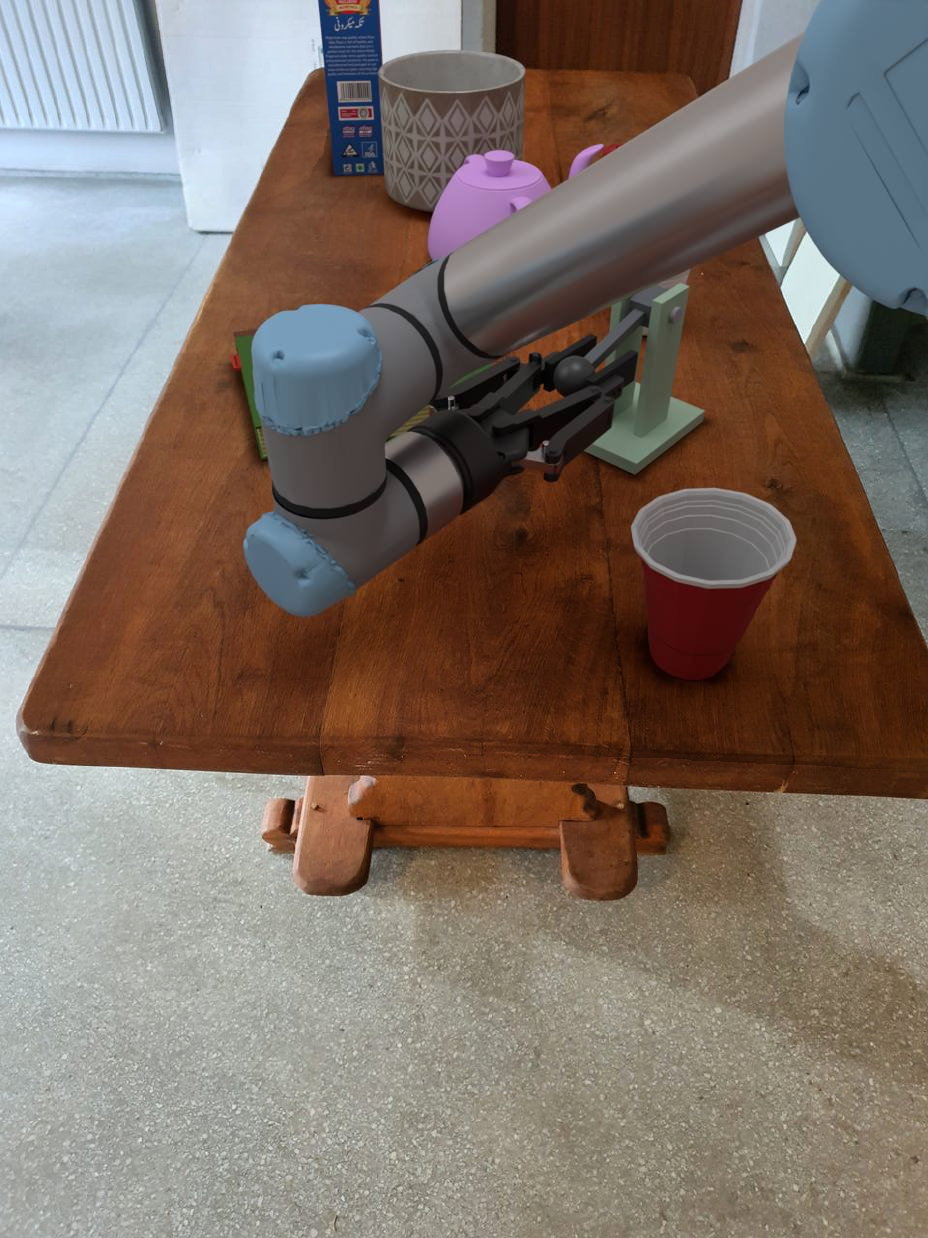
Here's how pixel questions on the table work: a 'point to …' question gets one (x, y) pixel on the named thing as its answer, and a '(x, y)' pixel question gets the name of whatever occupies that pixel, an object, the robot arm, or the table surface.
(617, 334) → the switch lever
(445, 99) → the planter
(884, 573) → the table surface
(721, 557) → the plastic cup
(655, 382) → the switch bracket
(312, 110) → the table surface
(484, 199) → the teapot
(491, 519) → the table surface
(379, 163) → the pasta box
